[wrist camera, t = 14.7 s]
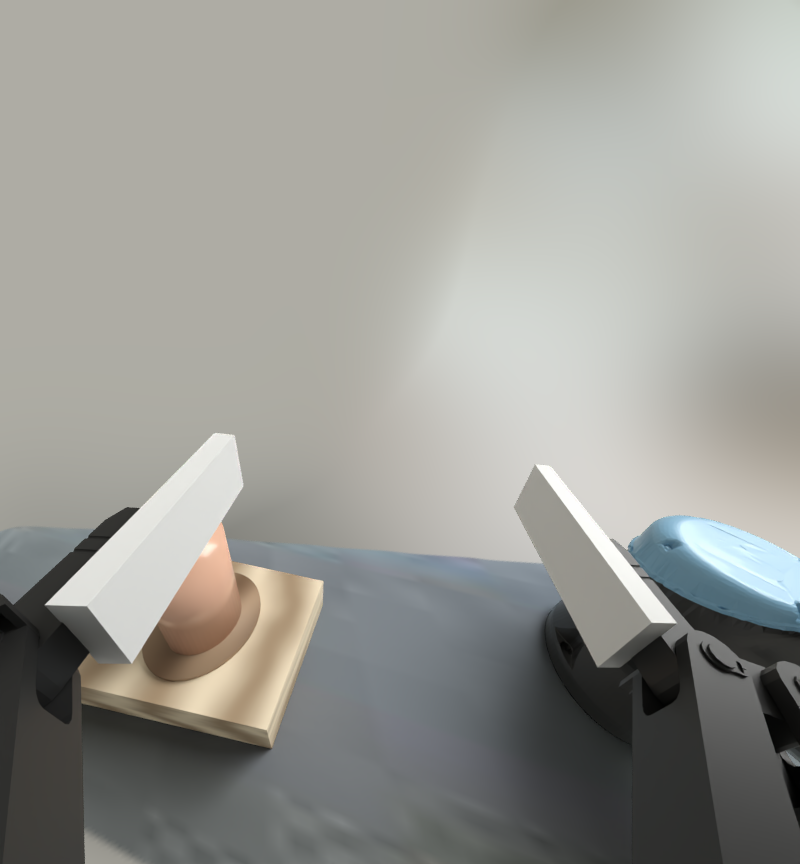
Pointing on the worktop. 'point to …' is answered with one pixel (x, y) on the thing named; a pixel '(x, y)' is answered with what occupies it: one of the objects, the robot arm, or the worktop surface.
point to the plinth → (221, 665)
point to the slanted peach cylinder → (204, 602)
